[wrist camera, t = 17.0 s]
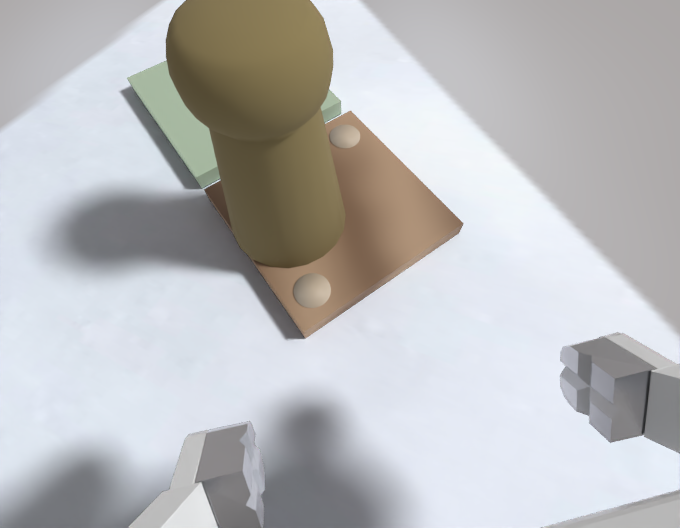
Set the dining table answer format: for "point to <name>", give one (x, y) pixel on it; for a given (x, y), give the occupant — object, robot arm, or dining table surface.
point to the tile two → (359, 229)
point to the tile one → (190, 121)
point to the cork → (263, 119)
